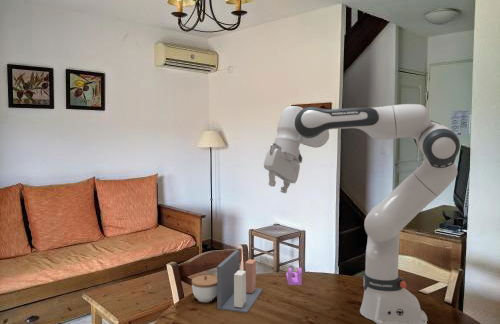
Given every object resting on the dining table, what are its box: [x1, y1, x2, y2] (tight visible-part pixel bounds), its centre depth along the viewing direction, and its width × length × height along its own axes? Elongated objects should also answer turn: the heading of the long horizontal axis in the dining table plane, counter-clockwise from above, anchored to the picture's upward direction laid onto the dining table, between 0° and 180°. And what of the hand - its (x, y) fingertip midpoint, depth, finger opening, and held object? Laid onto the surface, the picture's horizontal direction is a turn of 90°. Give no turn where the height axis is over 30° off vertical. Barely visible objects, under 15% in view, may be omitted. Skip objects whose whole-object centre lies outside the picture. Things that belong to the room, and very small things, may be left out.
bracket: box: [285, 267, 303, 286], centre depth 177 cm, size 13×6×7 cm, turn 1°
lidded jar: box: [191, 274, 217, 303], centre depth 156 cm, size 11×11×9 cm
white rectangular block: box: [234, 269, 246, 308], centre depth 148 cm, size 3×5×12 cm, turn 164°
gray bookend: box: [216, 249, 263, 314], centre depth 156 cm, size 12×22×16 cm, turn 164°
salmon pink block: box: [244, 258, 257, 293], centre depth 162 cm, size 3×5×12 cm, turn 164°
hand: (277, 189), depth 136 cm, fingers open, 8 cm apart
